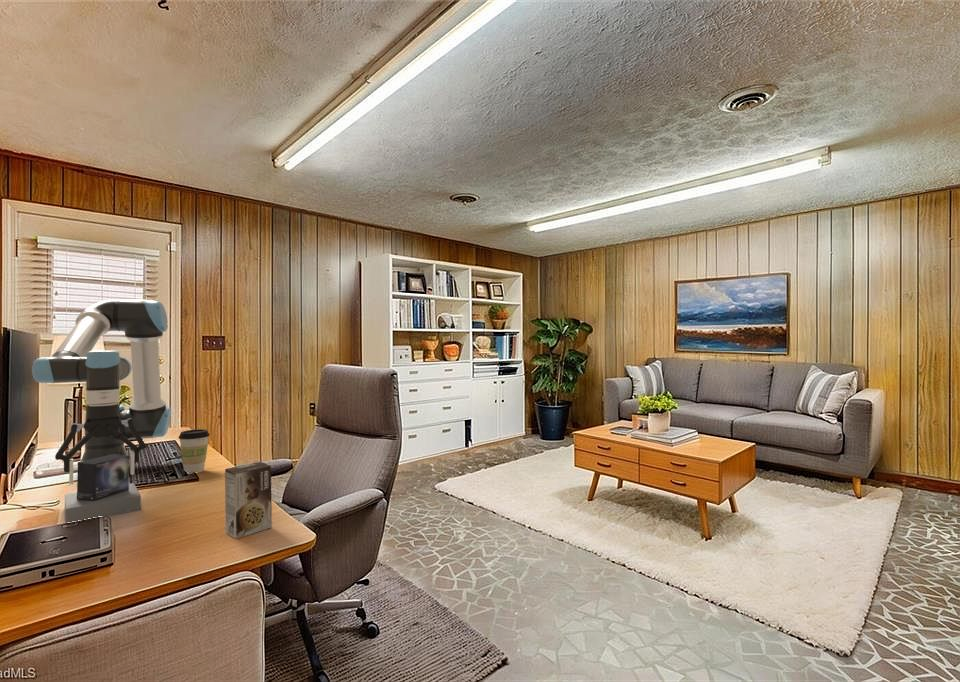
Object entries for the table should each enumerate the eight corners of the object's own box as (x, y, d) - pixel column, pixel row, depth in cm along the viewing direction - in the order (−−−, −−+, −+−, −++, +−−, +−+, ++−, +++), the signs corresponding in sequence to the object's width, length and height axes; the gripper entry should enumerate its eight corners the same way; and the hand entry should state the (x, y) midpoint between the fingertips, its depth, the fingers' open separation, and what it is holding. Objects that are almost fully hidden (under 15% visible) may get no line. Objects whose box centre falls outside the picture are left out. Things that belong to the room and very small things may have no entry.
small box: (94, 501, 128) (94, 463, 128) (75, 500, 129) (75, 462, 129) (130, 489, 138) (130, 454, 138) (112, 488, 140) (112, 453, 140)
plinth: (64, 508, 134) (64, 494, 134) (133, 496, 145) (133, 483, 145) (65, 524, 122) (66, 509, 122) (140, 509, 133) (140, 495, 133)
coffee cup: (184, 477, 165) (184, 435, 166) (173, 472, 171) (173, 431, 171) (214, 471, 173) (214, 430, 173) (202, 467, 179) (202, 428, 179)
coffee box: (260, 522, 124) (260, 461, 124) (272, 528, 119) (272, 464, 120) (224, 532, 116) (224, 468, 117) (235, 539, 112) (235, 472, 112)
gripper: (43, 409, 123) (42, 490, 122) (157, 401, 139) (157, 472, 139) (43, 407, 128) (43, 484, 128) (153, 399, 145) (153, 468, 145)
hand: (102, 478), depth 134 cm, fingers open, 13 cm apart
